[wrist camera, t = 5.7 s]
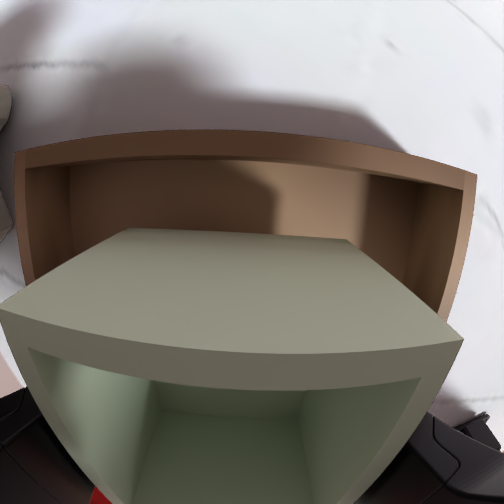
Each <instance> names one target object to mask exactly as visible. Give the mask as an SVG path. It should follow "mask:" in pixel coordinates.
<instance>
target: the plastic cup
mask: <svg viewBox="0 0 504 504" xmlns="http://www.w3.org/2000/svg"><path fill="white" fill-rule="evenodd" d="M89 504H112V503H111V502H110V501H109V500H108V499H107V498H106V497H105V496H104V494H103V493H102V492H101V491H100V490H99V489H98V488H97V487H96V486H95V488H94V491H93V494H92V497H91V500H90V503H89Z"/></svg>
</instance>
